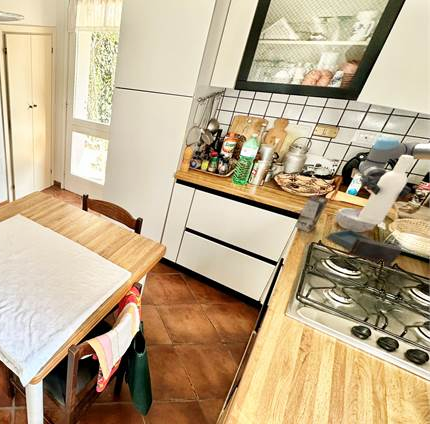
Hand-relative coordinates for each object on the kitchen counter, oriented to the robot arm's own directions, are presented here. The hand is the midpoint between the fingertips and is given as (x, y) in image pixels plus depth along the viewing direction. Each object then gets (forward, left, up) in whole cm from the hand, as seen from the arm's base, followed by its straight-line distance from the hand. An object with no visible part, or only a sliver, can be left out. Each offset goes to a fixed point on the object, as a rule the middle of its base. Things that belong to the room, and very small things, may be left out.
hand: (390, 194), depth 126 cm
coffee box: (+22, +2, -29) cm, 37 cm away
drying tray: (+5, -5, -29) cm, 30 cm away
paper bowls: (+15, -21, -29) cm, 39 cm away
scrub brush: (-6, +2, -29) cm, 30 cm away
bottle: (+3, -4, -15) cm, 16 cm away
